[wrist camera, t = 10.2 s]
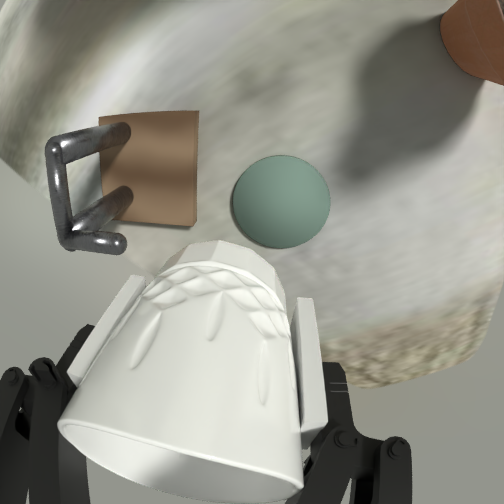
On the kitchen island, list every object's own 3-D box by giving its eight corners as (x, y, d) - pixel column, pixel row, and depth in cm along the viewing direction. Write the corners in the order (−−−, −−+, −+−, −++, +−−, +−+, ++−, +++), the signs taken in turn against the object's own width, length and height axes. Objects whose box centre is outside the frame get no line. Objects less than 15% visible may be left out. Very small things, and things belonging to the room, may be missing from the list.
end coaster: (236, 150, 26) (235, 151, 26) (336, 162, 26) (337, 163, 26) (231, 240, 31) (230, 243, 31) (320, 249, 31) (321, 252, 30)
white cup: (213, 358, 18) (182, 500, 9) (126, 275, 15) (32, 421, 6) (321, 311, 15) (343, 493, 6) (234, 195, 12) (148, 411, 3)
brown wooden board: (105, 116, 25) (98, 117, 24) (199, 110, 25) (195, 110, 23) (111, 214, 31) (105, 219, 29) (196, 221, 30) (193, 226, 29)
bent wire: (112, 122, 24) (36, 140, 14) (172, 118, 24) (110, 129, 14) (116, 205, 28) (55, 254, 19) (172, 208, 28) (123, 265, 18)
